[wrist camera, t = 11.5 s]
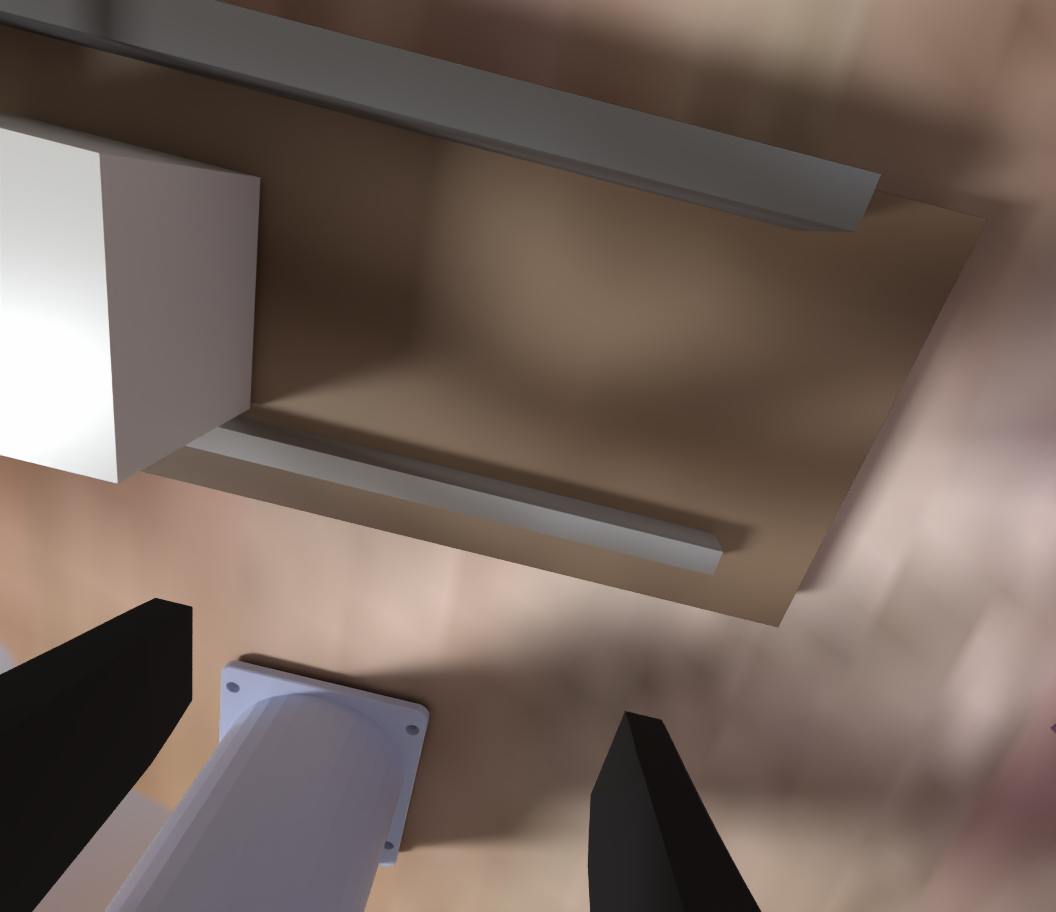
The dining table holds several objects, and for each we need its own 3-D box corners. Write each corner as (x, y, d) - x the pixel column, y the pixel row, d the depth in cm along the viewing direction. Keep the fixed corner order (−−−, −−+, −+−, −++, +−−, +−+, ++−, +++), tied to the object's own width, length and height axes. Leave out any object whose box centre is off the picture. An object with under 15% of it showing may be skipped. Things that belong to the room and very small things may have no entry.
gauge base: (763, 597, 19) (896, 861, 11) (-126, 379, 18) (-646, 494, 11) (947, 219, 14) (1397, 213, 6) (-231, -87, 14) (-1294, -498, 6)
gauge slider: (249, 408, 16) (117, 483, 11) (40, 356, 16) (-181, 410, 11) (266, 45, 13) (88, -58, 8) (0, -24, 12) (-339, -170, 8)
